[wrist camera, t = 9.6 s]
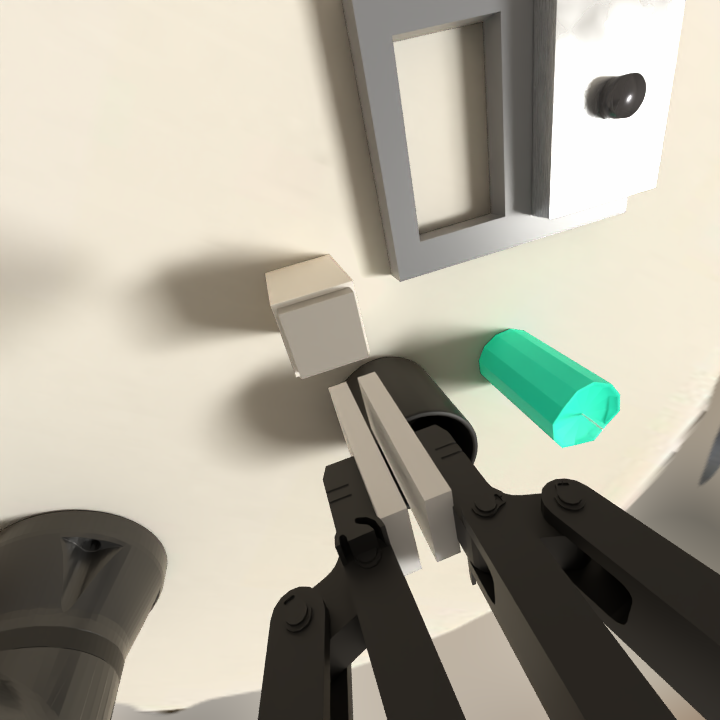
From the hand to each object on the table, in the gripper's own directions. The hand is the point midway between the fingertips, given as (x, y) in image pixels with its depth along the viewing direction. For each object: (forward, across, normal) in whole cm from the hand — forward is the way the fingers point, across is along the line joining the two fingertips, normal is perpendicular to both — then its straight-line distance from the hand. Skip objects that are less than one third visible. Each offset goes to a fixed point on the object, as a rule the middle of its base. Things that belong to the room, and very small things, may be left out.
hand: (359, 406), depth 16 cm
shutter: (+14, +23, +8) cm, 28 cm away
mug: (+16, +5, -13) cm, 22 cm away
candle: (+16, +17, -12) cm, 26 cm away
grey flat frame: (+16, +17, +8) cm, 25 cm away
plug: (+16, 0, 0) cm, 16 cm away
